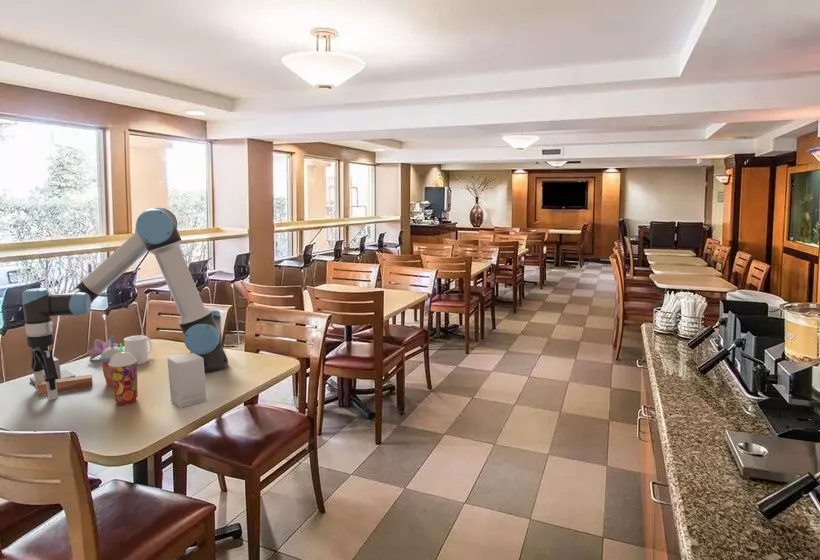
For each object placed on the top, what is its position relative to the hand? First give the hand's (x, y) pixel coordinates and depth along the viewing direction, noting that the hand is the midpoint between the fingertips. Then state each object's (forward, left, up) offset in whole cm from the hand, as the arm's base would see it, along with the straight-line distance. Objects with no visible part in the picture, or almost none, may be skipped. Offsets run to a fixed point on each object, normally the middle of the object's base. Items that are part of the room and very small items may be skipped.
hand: (46, 393), depth 194 cm
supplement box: (-44, -29, 0) cm, 53 cm away
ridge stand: (+15, -6, 0) cm, 16 cm away
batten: (0, -6, 0) cm, 6 cm away
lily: (+29, -29, 0) cm, 40 cm away
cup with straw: (-7, -20, 0) cm, 21 cm away
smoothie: (-29, -15, 0) cm, 33 cm away
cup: (+15, -38, 0) cm, 41 cm away
